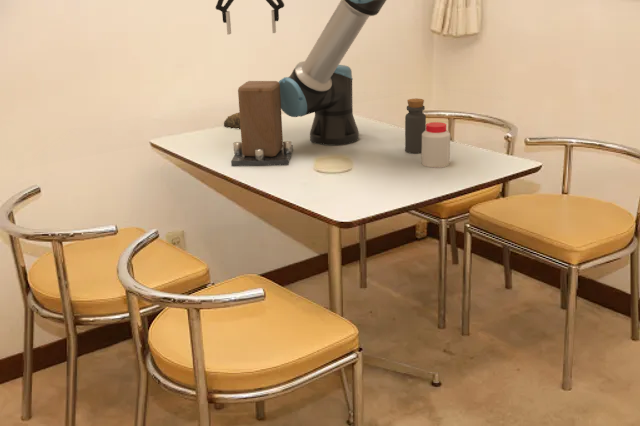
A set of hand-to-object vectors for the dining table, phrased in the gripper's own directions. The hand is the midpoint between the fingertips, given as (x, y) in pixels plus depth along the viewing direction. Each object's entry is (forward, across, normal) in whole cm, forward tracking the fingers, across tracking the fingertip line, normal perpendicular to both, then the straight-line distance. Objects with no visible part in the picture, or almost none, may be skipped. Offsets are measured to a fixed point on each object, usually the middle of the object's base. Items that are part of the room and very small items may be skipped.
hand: (251, 33), depth 234 cm
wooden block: (+31, -4, +21) cm, 38 cm away
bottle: (+33, -48, +17) cm, 61 cm away
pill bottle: (+33, -53, +30) cm, 69 cm away
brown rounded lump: (+33, +7, -19) cm, 39 cm away
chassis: (+33, -4, +21) cm, 39 cm away
